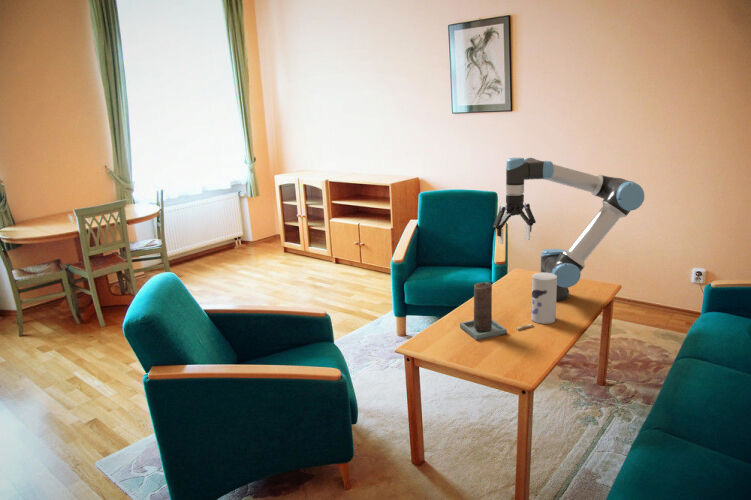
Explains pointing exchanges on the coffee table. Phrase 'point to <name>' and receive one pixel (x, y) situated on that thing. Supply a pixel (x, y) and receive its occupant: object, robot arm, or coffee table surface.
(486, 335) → the dish
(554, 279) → the container
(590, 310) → the coffee table surface
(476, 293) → the dark brown cylinder
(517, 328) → the beige wooden bar
